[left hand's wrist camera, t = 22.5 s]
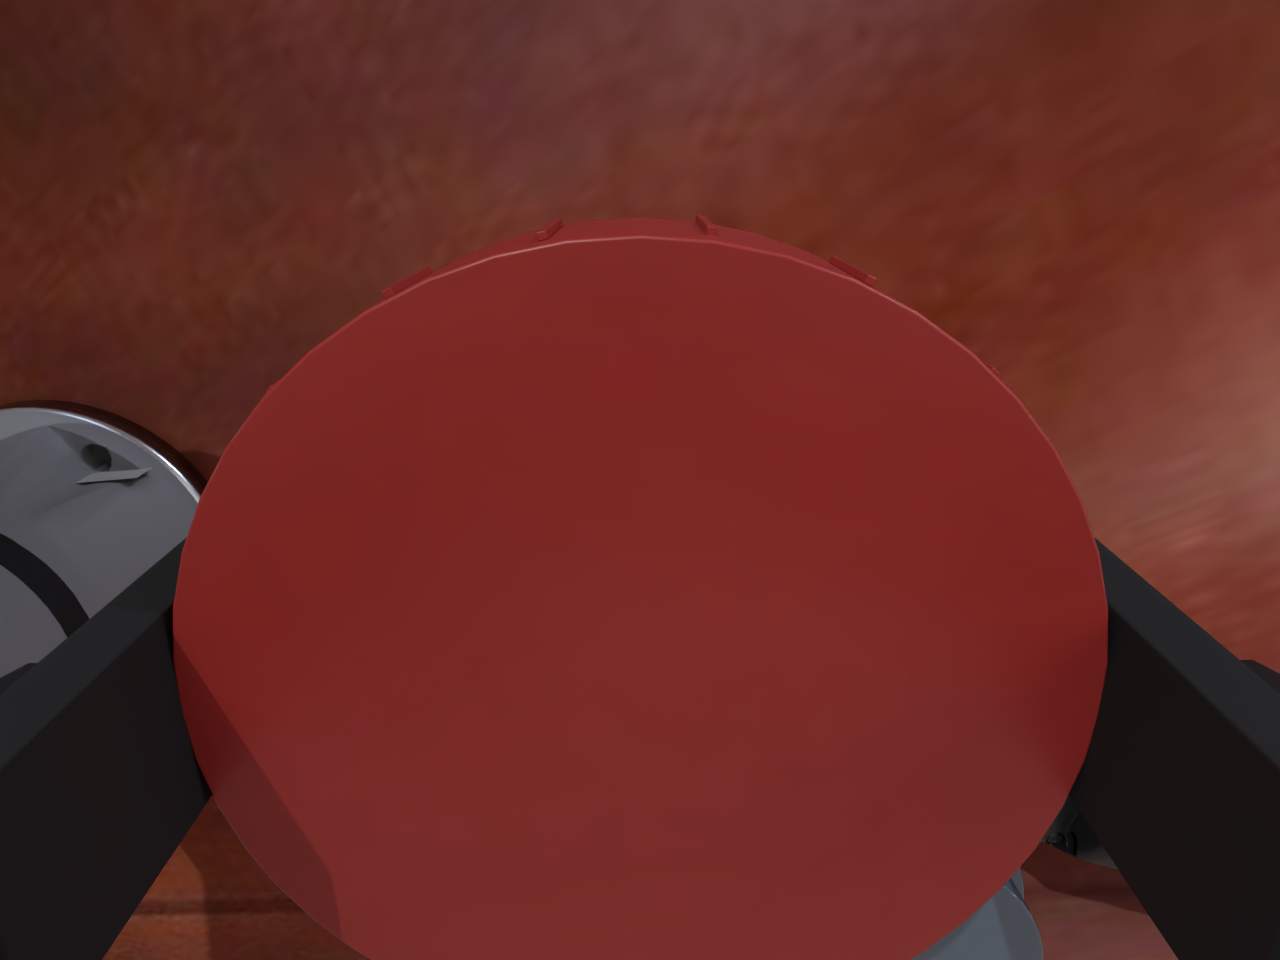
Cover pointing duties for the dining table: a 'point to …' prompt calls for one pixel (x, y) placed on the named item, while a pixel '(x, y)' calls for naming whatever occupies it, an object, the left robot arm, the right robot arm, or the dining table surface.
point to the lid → (640, 612)
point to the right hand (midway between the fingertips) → (706, 670)
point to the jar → (993, 931)
